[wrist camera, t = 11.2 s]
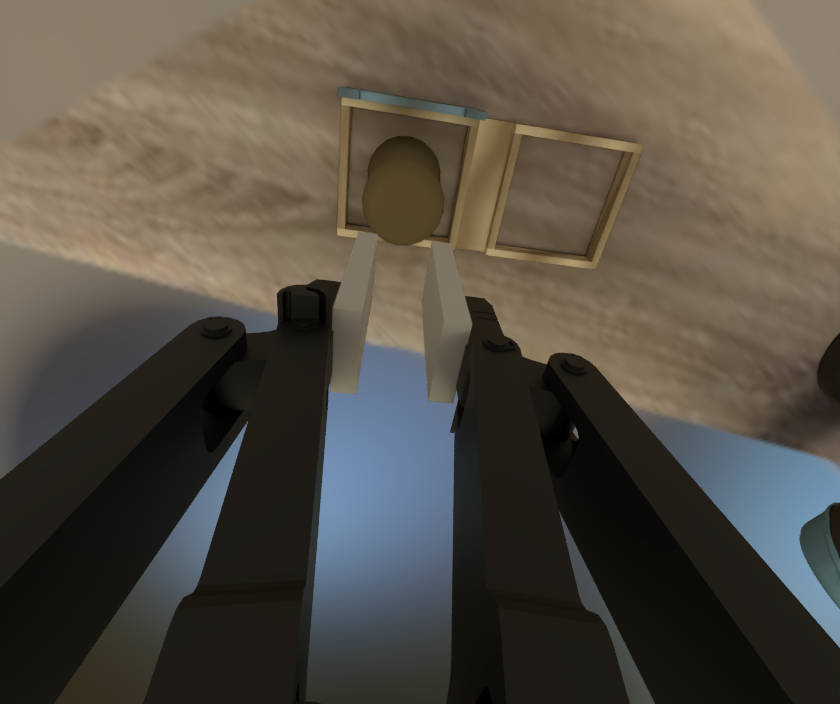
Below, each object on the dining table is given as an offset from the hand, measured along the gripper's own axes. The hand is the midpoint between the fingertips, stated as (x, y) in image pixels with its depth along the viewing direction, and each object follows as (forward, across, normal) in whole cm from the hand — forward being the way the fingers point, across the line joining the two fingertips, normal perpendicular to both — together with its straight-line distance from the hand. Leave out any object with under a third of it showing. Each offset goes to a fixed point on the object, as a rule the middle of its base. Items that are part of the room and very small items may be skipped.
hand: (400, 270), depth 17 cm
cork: (+21, 0, 0) cm, 21 cm away
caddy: (+20, -6, 0) cm, 21 cm away
